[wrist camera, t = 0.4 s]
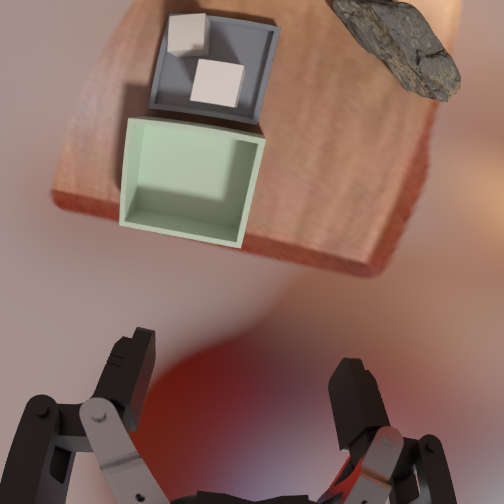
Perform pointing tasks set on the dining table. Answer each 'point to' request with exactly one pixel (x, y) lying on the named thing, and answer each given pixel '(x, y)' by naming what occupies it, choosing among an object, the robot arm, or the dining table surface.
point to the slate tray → (223, 50)
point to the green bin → (189, 179)
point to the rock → (402, 45)
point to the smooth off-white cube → (189, 35)
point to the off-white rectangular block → (218, 83)
